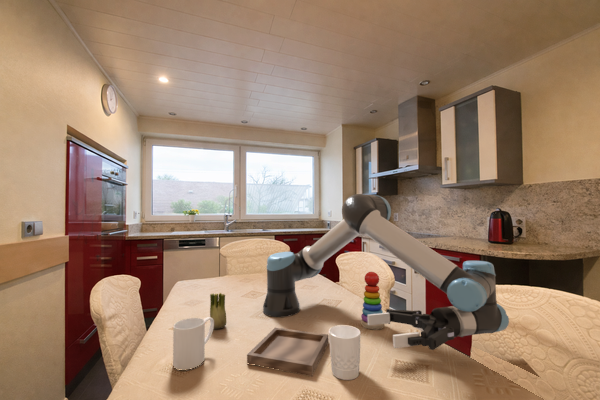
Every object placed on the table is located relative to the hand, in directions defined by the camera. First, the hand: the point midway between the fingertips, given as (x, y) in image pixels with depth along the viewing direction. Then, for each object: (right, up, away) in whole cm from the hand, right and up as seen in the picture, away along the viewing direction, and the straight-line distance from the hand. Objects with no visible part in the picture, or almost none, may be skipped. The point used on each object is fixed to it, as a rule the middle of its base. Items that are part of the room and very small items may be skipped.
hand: (379, 329), depth 69 cm
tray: (-23, -10, +8) cm, 27 cm away
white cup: (-9, -10, -2) cm, 14 cm away
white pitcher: (-49, -11, +5) cm, 51 cm away
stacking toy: (+5, -11, +25) cm, 28 cm away
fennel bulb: (-50, -12, +26) cm, 57 cm away
